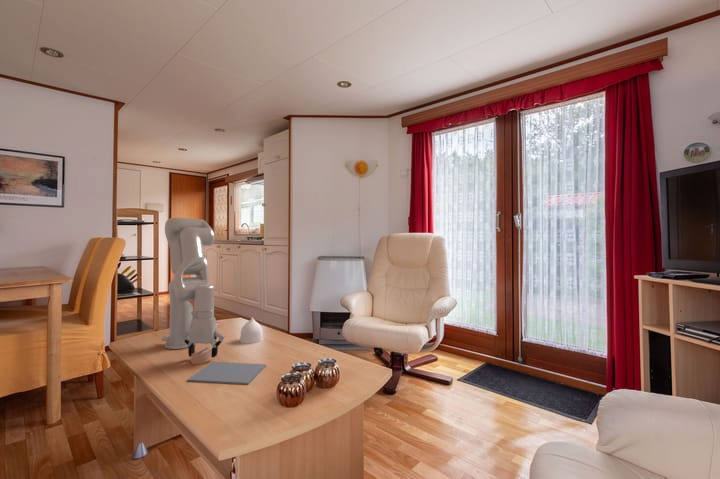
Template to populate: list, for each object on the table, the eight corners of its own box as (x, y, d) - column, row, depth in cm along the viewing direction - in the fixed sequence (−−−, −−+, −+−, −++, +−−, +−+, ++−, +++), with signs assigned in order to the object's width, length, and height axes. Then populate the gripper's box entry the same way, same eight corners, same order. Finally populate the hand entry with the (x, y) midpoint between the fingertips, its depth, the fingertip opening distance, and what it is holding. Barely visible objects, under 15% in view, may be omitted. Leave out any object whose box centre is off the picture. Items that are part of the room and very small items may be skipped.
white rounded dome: (237, 339, 170) (237, 315, 170) (258, 336, 177) (259, 313, 177) (243, 345, 161) (244, 320, 161) (266, 341, 168) (266, 317, 168)
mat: (187, 381, 118) (187, 379, 118) (212, 363, 136) (212, 361, 136) (248, 384, 117) (248, 382, 117) (266, 365, 135) (266, 364, 135)
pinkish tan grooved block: (191, 364, 135) (191, 353, 135) (202, 356, 144) (203, 347, 144) (201, 364, 135) (202, 354, 135) (213, 357, 144) (213, 347, 144)
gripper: (178, 315, 136) (177, 358, 136) (219, 317, 135) (218, 359, 135) (189, 312, 144) (188, 352, 144) (228, 313, 143) (227, 354, 142)
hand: (202, 356), depth 139 cm, fingers open, 9 cm apart
